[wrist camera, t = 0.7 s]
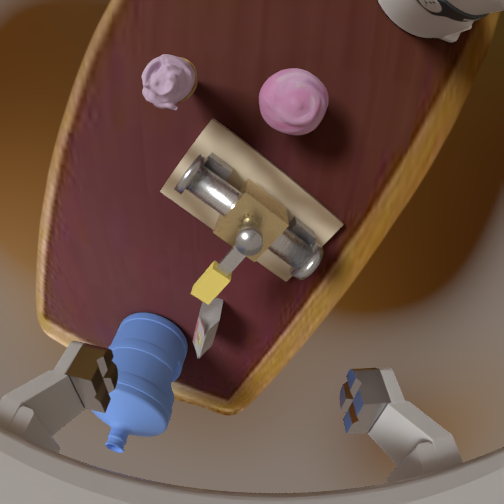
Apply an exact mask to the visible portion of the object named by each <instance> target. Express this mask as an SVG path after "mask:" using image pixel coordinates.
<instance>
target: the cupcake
mask: <svg viewBox="0 0 504 504" xmlns="http://www.w3.org/2000/svg"><path fill="white" fill-rule="evenodd" d="M259 105H260V112H261V115H262V117H263V118H264V120H265V121H266V123H267V124H268V125H269V126H271V127H272V128H274V129H275V130H277V131H279V132H282V133H285V134H290V135H303V134H307V133H309V132H311V131H313V130H314V129H315V128H316V127H317V126H318V125H319V124H320V122H321V121H322V119H323V117H324V115H325V112H326V109H327V107H328V92H327V90H326V88H325V86H324V85H323V83H322V82H321V81H320V80H319V79H318V78H317V77H315V76H314V75H313V74H311V73H310V72H308V71H306V70H303V69H296V68H292V69H284V70H281V71H279V72H277V73H275V74H274V75H272V76H271V77H270V78H268V79H267V80H266V82H265V83H264V84H263V86H262V88H261V90H260V93H259Z"/></svg>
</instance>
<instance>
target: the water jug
mask: <svg viewBox="0 0 504 504" xmlns="http://www.w3.org/2000/svg"><path fill="white" fill-rule="evenodd" d="M108 349H111V350H112V353H113V356H114V357H113V359H112V361H113V362H114V363H115V364H116V366H117V369H118V380H117V385H116V388H115V390H114V391H112V392H110V393H109V396H110V398H111V400H110V403H109V405H108V407H107V410H106V413H102V412H98V411H94V410H92V411H93V413H94V414H95V415H96V416H97V417H98V418H100V419H101V420H102V421H104V422H105V423H106V424H108V425H109V426H111V431H110V434H109V436H108V441H107V443H106V444H105V445H106V447H107V448H109V449H110V450H112V451H115V452H119V453H122V452H123V451H124V449H123V448H124V445H125V444H126V440H127V437H128V435H136V436H144V437H150V436H157V435H160V434H162V433H163V432H164V431H165V430H166V429H167V426H168V423H169V420H170V417H171V413H172V406H173V402H174V394H173V391H172V388H171V383H172V382H173V381H175V380H176V379H177V378H178V377H179V376H180V374H181V370H182V367H183V363H184V360H185V358H186V354H187V350H188V345H187V340H186V338H185V336H184V334H183V333H182V331H181V330H180V329H179V328H178V327H177V326H176V325H175V324H174V323H173V322H171V321H170V320H168V319H166V318H164V317H162V316H160V315H157V314H153V313H145V312H142V313H135V314H132V315H130V316H128V317H126V318H125V319H124V320H123V321H122V323H121V325H120V327H119V329H118V332H117V334H116V336H115V338H114V340H113V342H112V344H111V345H110V346H109V348H108Z"/></svg>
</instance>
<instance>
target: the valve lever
mask: <svg viewBox="0 0 504 504" xmlns="http://www.w3.org/2000/svg"><path fill="white" fill-rule="evenodd" d="M262 247H263V234H262V231H261V230H260V229H259V228H258V227H257V226H255V225H244V226H242V227H241V228H240V229H239V230H238V232H237V236H236V241H235V245H234V246H233V247H232V248H231V250H230V251H229V252H228V253H227V254H226V255H225V256H224V258H223V259H222V260H221V261H220V262H219V263H217V262H216V261H214V262H213V263H212V264H211V265H210V266H209V268H208V269H207V270H206V271H205V272H204V274H203V275H202V276H201V277H200V278H199V279H198V281H197V282H196V283H195V284H194V286H193V289H192V292H191V294H192V295H194V296H195V297H197V298H198V299H200V300H201V301H203V302H205V303H206V304H208V305H209V304H210V303H211V301H212V300H213V299H214V298H215V297H216V296H217V295H218V294H219V293H220V292H221V291H222V290H223V289H224V287H225V286H226V285H227V284H228V283H229V282H230V281H231V275H232V271H233V270H234V269H235V268H236V267H237V265H238V264H239V263H240V262H241V261H242V260H243V259H244V258H245V257H246V256H253V255H256V254H258V253H259V252H260V251H261V249H262Z"/></svg>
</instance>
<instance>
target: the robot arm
mask: <svg viewBox="0 0 504 504" xmlns="http://www.w3.org/2000/svg"><path fill="white" fill-rule="evenodd" d="M378 1H379V4H380V5H381V7H382V9H383V10H384V12H385V13H386V14H387V16H388V17H389V18H390V19H391V20H392V21H393V22H394V23H395V24H396V25H398V26H399V27H400V28H402V29H403V30H405V31H406V32H408V33H410V34H413V35H415V36H418V37H423V38H440V39H442V40H444V41H447V42H450V43H453V42H455V41H457V39H458V37H459V35H460V33H461V32H463V31H466V30H469V29H471V28H472V24H473V22H474V21H475V20H478V19H481V18H483V17H485V16H487V15H488V14H489V13H492V12H497V11H503V10H504V0H378ZM113 357H114V356H113V353H112V350H111V349H108V348H103V347H99V346H95V345H90V344H86V343H82V342H77V341H72V342H71V343H70V344H69V346H68V347H67V349H66V351H65V352H64V354H63V355H62V357H61V359H60V360H59V362H58V364H57V365H56V367H55V368H54V370H53V371H51V370H49V371H47V372H46V373H44V374H42V375H40V376H38V377H37V378H35V379H33V380H31V381H29V382H28V383H26V384H24V385H22V386H20V387H18V388H17V389H15V390H13V391H11V392H9V393H8V394H6V395H4V396H3V398H2V399H1V401H0V504H504V447H502V448H500V449H497V450H495V451H493V452H490V453H488V454H485V455H483V456H480V457H477V458H475V459H472V460H469V461H466V462H462V459H461V456H460V454H459V451H458V448H457V446H456V443H455V441H454V439H453V436H452V435H451V434H450V433H449V432H447V431H446V430H445V429H444V428H442V427H441V426H440V425H438V424H437V423H436V422H435V421H433V420H432V419H431V418H430V417H428V416H427V415H426V414H425V413H423V412H422V411H421V410H419V409H418V408H417V407H416V406H414V405H413V404H412V403H411V402H409V401H405V399H404V397H403V394H402V392H401V389H400V387H399V384H398V382H397V379H396V377H395V374H394V372H393V370H392V369H391V368H390V367H386V368H364V369H350V370H349V372H348V374H347V380H348V381H347V382H346V383H344V384H343V386H342V388H341V391H340V406H341V410H343V411H344V412H345V413H346V415H345V417H344V419H343V421H344V425H345V430H346V434H357V433H358V434H359V433H368V434H369V435H370V436H371V438H372V439H373V440H374V441H375V442H376V443H377V444H378V445H379V447H380V448H381V449H382V450H383V451H384V452H385V453H386V454H387V455H388V456H389V458H390V459H391V460H392V461H393V462H394V463H395V464H396V465H397V467H396V468H395V469H394V470H393V471H392V472H391V473H390V474H389V475H388V476H387V482H388V483H384V484H378V485H372V486H365V487H359V488H351V489H343V490H333V491H322V492H307V493H244V492H228V491H216V490H207V489H198V488H191V487H184V486H177V485H171V484H165V483H160V482H155V481H150V480H145V479H141V478H137V477H132V476H128V475H125V474H121V473H117V472H113V471H109V470H106V469H103V468H99V467H96V466H93V465H90V464H87V463H84V462H81V461H78V460H75V459H72V458H69V457H67V456H64V455H61V454H59V450H60V447H59V445H58V444H57V443H56V441H55V440H54V439H53V437H52V435H54V434H55V433H56V432H57V431H58V430H60V429H61V428H62V427H64V426H65V425H66V424H67V423H68V422H70V421H71V420H72V419H74V418H75V417H76V416H77V415H78V414H80V413H81V412H82V411H83V410H84V408H86V409H90V410H94V411H98V412H102V413H106V410H107V407H108V405H109V403H110V400H111V398H110V396H109V393H110V392H112V391H114V390H115V388H116V385H117V380H118V369H117V366H116V364H115V363H114V362H113V361H112V359H113Z"/></svg>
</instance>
